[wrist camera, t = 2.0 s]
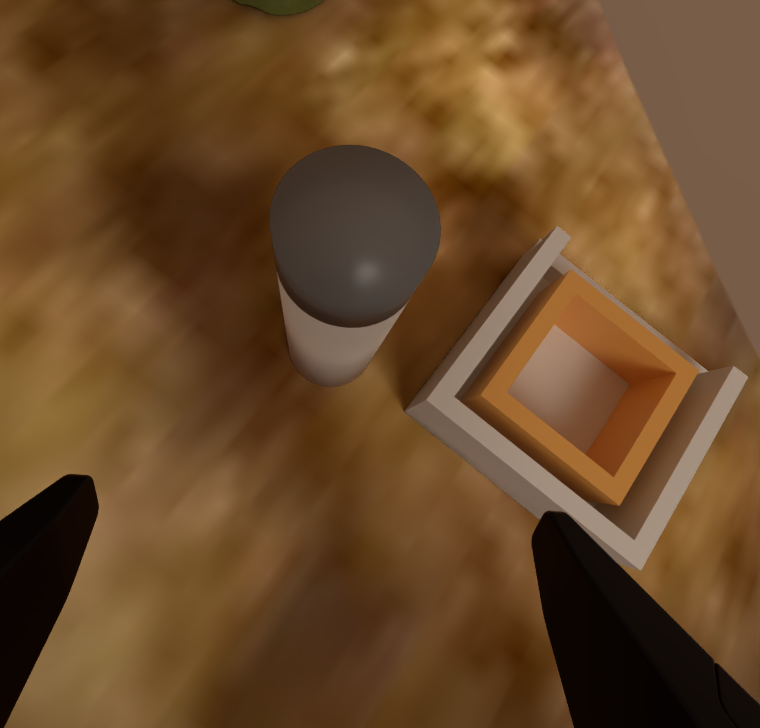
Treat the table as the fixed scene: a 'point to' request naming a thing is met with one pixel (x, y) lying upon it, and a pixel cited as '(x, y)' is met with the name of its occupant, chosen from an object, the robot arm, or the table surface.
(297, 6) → the plant pot
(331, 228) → the plug
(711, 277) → the table surface
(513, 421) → the socket box
